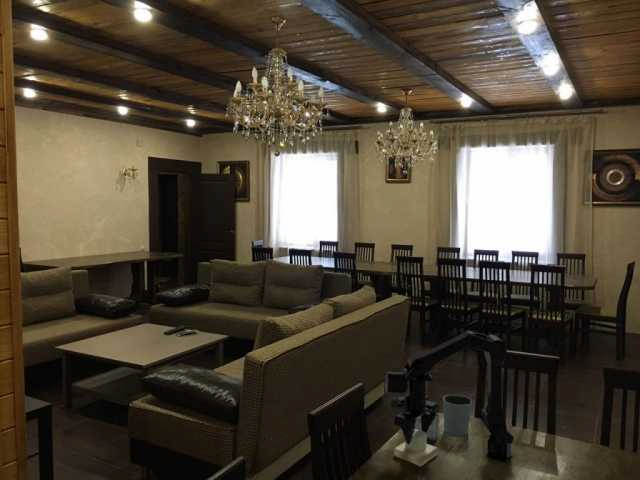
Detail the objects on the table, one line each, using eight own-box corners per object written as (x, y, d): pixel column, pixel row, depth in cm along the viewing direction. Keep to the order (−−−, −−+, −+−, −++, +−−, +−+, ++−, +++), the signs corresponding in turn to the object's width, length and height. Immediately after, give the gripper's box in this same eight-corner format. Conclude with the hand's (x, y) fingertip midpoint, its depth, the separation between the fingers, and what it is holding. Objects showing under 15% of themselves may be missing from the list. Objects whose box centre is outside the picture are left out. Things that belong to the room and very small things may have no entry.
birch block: (436, 456, 175) (437, 447, 175) (420, 468, 168) (420, 458, 168) (411, 446, 182) (411, 437, 182) (394, 457, 175) (394, 448, 174)
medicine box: (412, 436, 188) (413, 412, 187) (416, 431, 192) (417, 408, 191) (434, 441, 185) (435, 417, 184) (438, 436, 189) (438, 412, 188)
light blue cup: (436, 430, 193) (437, 398, 192) (452, 422, 200) (453, 391, 198) (460, 440, 185) (461, 407, 184) (476, 431, 192) (477, 399, 191)
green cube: (426, 447, 175) (426, 432, 175) (418, 452, 171) (418, 437, 171) (413, 442, 178) (413, 428, 178) (405, 447, 175) (405, 432, 174)
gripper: (412, 379, 185) (411, 422, 187) (380, 394, 171) (379, 440, 173) (440, 387, 177) (439, 432, 179) (409, 403, 164) (408, 452, 165)
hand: (416, 439), depth 174 cm, fingers open, 9 cm apart
